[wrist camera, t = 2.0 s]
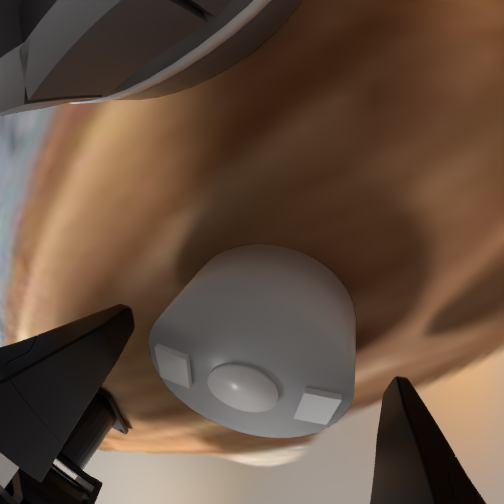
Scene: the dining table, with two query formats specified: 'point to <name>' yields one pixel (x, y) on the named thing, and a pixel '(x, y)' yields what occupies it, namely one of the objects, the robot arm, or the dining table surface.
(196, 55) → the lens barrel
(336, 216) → the dining table surface
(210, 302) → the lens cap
